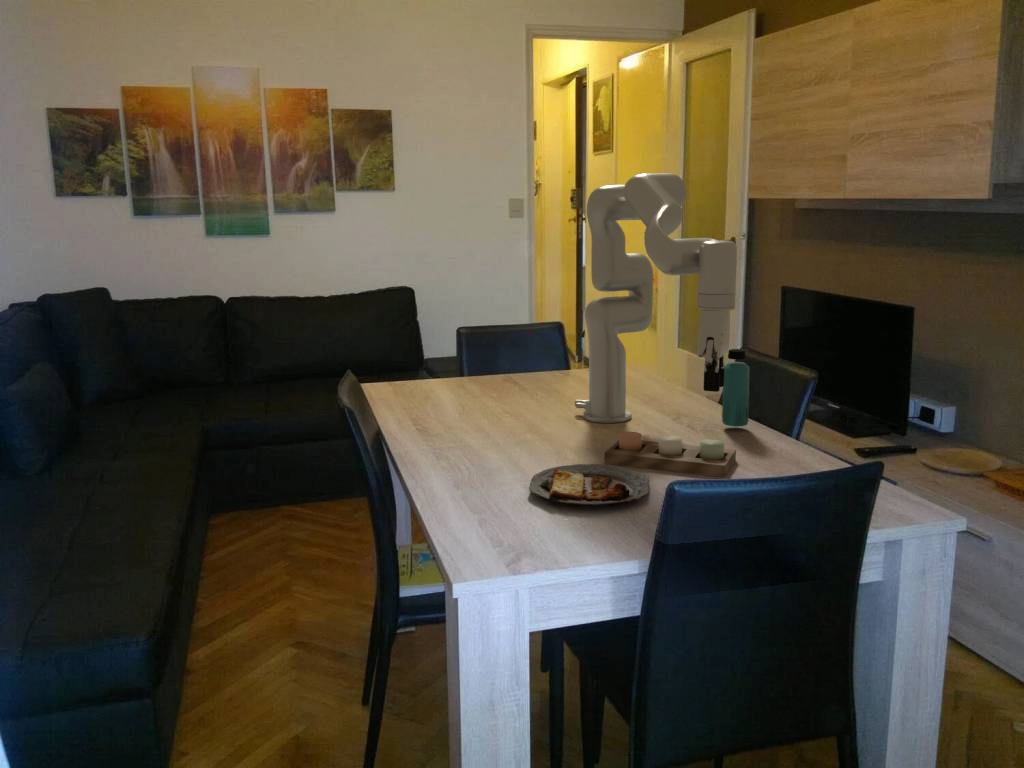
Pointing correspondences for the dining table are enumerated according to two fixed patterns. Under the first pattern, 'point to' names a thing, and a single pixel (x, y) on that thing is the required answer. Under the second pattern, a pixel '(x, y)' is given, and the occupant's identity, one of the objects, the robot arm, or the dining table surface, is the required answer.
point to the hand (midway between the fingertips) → (713, 387)
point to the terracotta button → (630, 441)
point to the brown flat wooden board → (670, 459)
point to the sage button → (712, 450)
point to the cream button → (670, 445)
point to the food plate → (570, 485)
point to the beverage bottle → (736, 390)
